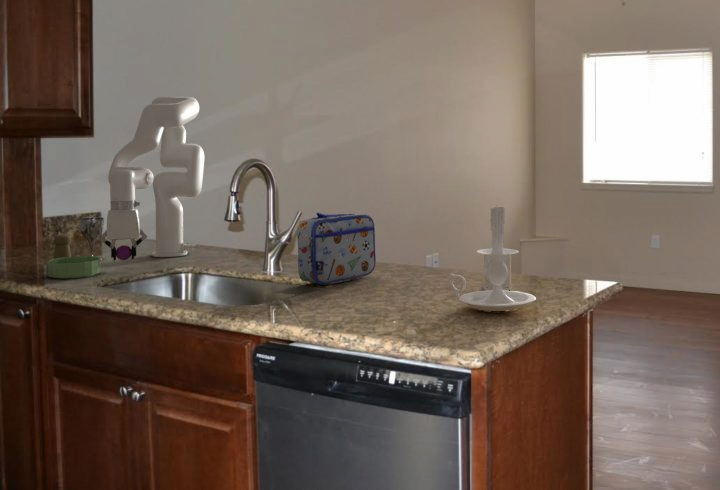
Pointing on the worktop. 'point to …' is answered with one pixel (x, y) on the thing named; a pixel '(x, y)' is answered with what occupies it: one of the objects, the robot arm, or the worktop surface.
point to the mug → (486, 265)
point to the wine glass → (91, 229)
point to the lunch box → (336, 248)
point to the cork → (62, 246)
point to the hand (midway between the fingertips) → (123, 258)
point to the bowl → (73, 267)
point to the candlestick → (495, 275)
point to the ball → (123, 252)
